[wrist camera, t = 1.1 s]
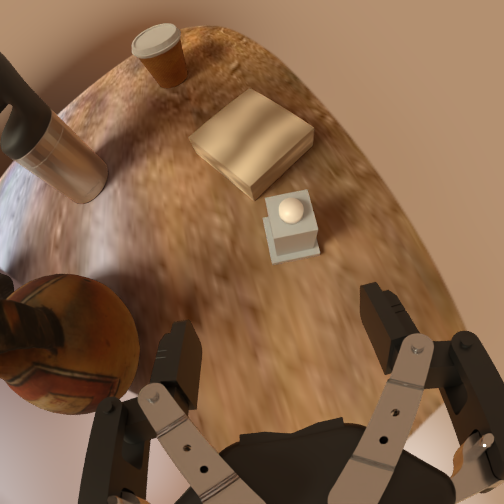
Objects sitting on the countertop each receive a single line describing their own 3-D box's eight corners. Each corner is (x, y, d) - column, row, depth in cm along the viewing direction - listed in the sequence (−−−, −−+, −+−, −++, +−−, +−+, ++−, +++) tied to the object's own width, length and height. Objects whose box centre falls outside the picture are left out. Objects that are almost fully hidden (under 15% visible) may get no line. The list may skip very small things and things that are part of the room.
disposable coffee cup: (185, 94, 50) (164, 48, 38) (144, 94, 52) (120, 54, 40) (202, 63, 52) (187, 19, 40) (163, 64, 54) (144, 25, 42)
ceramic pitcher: (41, 313, 43) (-100, 283, 14) (121, 259, 43) (-40, 174, 14) (81, 418, 37) (-68, 453, 8) (174, 378, 38) (-7, 434, 9)
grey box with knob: (272, 265, 40) (266, 244, 30) (263, 221, 42) (255, 188, 32) (319, 255, 39) (328, 231, 30) (308, 211, 41) (313, 176, 31)
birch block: (197, 154, 46) (188, 137, 41) (253, 107, 47) (249, 87, 43) (254, 202, 43) (250, 186, 38) (312, 146, 44) (314, 127, 39)
